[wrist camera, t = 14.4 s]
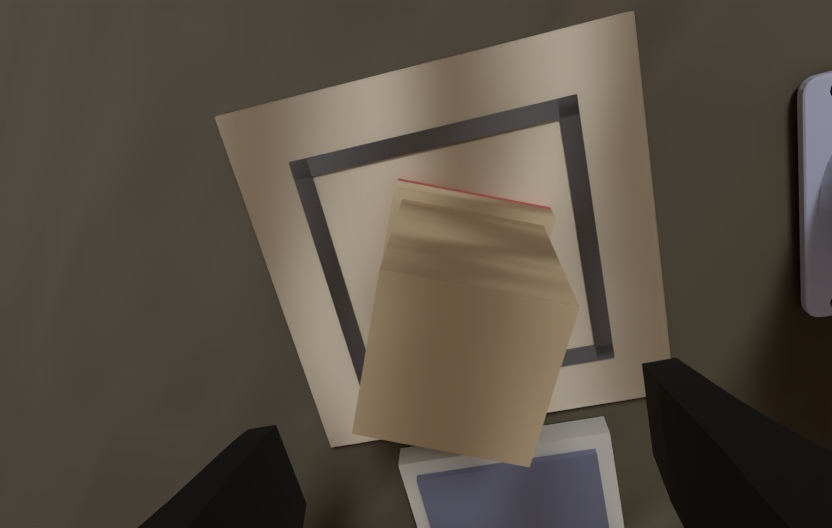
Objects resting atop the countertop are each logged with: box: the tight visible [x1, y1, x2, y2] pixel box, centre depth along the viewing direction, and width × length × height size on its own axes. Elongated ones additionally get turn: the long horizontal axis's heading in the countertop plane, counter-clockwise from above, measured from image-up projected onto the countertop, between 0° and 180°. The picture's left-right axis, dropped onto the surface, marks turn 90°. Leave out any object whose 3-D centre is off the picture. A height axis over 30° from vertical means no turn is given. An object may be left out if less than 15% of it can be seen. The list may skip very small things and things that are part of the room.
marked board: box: [215, 11, 671, 447], centre depth 20 cm, size 13×13×1 cm
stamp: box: [352, 178, 580, 467], centre depth 17 cm, size 5×5×7 cm
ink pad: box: [398, 416, 624, 528], centre depth 24 cm, size 8×8×1 cm
